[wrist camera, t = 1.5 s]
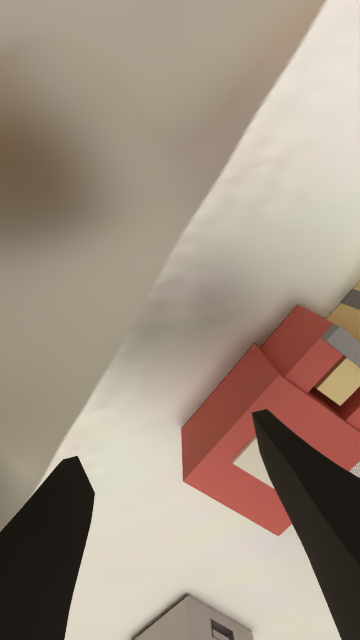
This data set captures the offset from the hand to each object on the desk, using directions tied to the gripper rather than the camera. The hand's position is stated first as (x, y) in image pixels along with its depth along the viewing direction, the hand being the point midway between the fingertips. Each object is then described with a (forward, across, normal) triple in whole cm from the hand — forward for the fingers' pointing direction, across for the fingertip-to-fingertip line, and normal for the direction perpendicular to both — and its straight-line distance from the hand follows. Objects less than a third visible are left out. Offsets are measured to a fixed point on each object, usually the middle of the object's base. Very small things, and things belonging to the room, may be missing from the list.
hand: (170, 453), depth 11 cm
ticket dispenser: (+9, -7, +6) cm, 13 cm away
